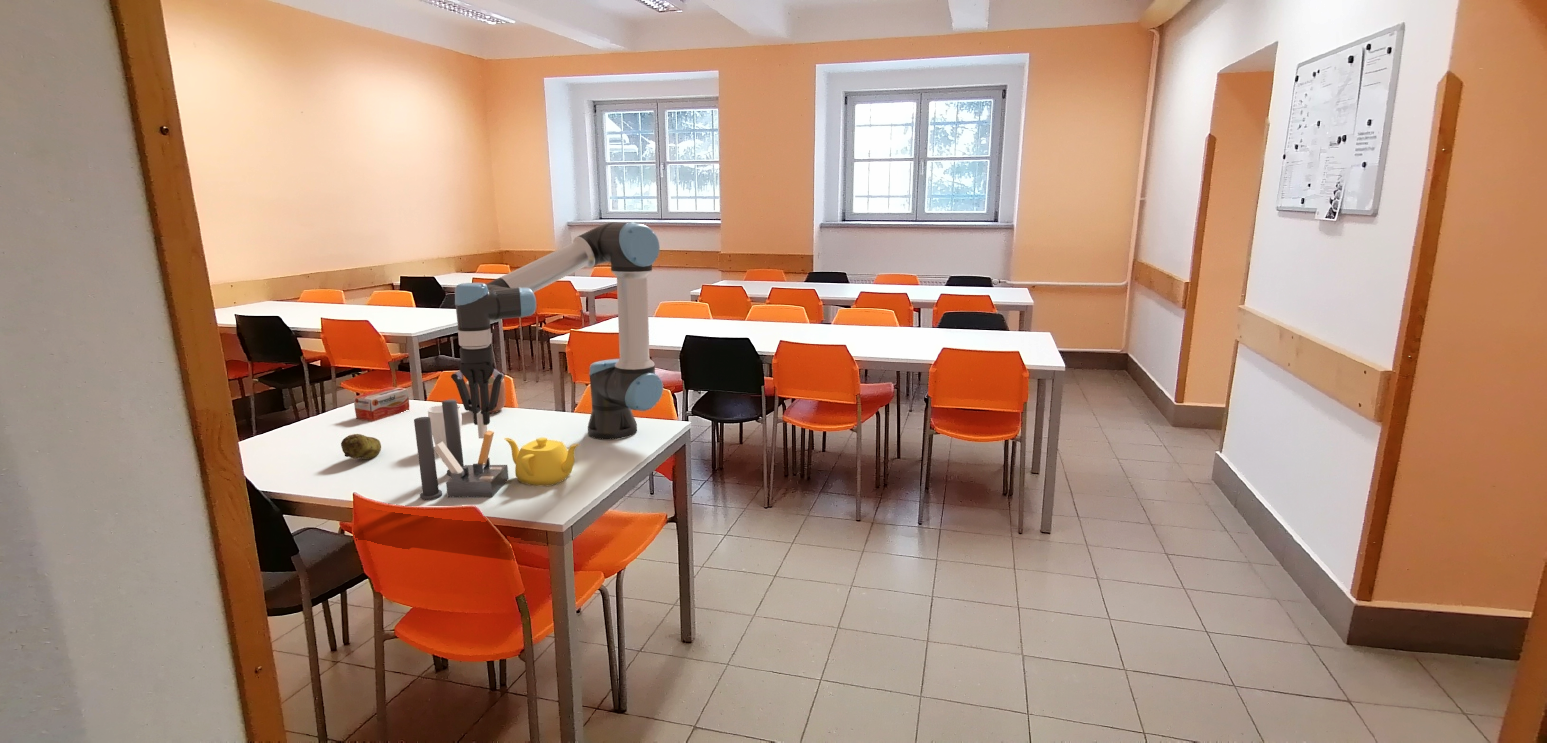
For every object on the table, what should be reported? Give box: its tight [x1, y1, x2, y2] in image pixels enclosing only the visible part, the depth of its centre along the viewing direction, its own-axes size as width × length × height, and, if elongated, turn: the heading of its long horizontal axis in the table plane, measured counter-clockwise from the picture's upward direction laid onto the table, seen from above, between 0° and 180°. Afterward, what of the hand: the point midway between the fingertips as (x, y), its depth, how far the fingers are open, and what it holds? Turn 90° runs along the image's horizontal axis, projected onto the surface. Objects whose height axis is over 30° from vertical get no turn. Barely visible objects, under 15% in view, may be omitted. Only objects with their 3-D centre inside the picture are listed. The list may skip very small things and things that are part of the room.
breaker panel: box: [445, 457, 510, 498], centre depth 191 cm, size 11×12×6 cm
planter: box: [465, 376, 506, 414], centre depth 259 cm, size 12×12×11 cm
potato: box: [340, 433, 382, 460], centre depth 213 cm, size 8×13×8 cm, turn 158°
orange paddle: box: [477, 430, 495, 467], centre depth 193 cm, size 2×3×10 cm, turn 1°
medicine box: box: [353, 386, 410, 422], centre depth 256 cm, size 15×8×8 cm, turn 156°
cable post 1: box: [413, 416, 443, 501], centre depth 185 cm, size 5×5×20 cm
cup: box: [427, 404, 463, 447], centre depth 222 cm, size 9×9×12 cm
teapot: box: [504, 437, 580, 486], centre depth 196 cm, size 22×16×11 cm
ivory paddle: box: [433, 441, 466, 477], centre depth 186 cm, size 2×3×10 cm, turn 179°
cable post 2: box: [441, 398, 465, 477], centre depth 200 cm, size 5×5×20 cm
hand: (483, 436), depth 192 cm, fingers closed
